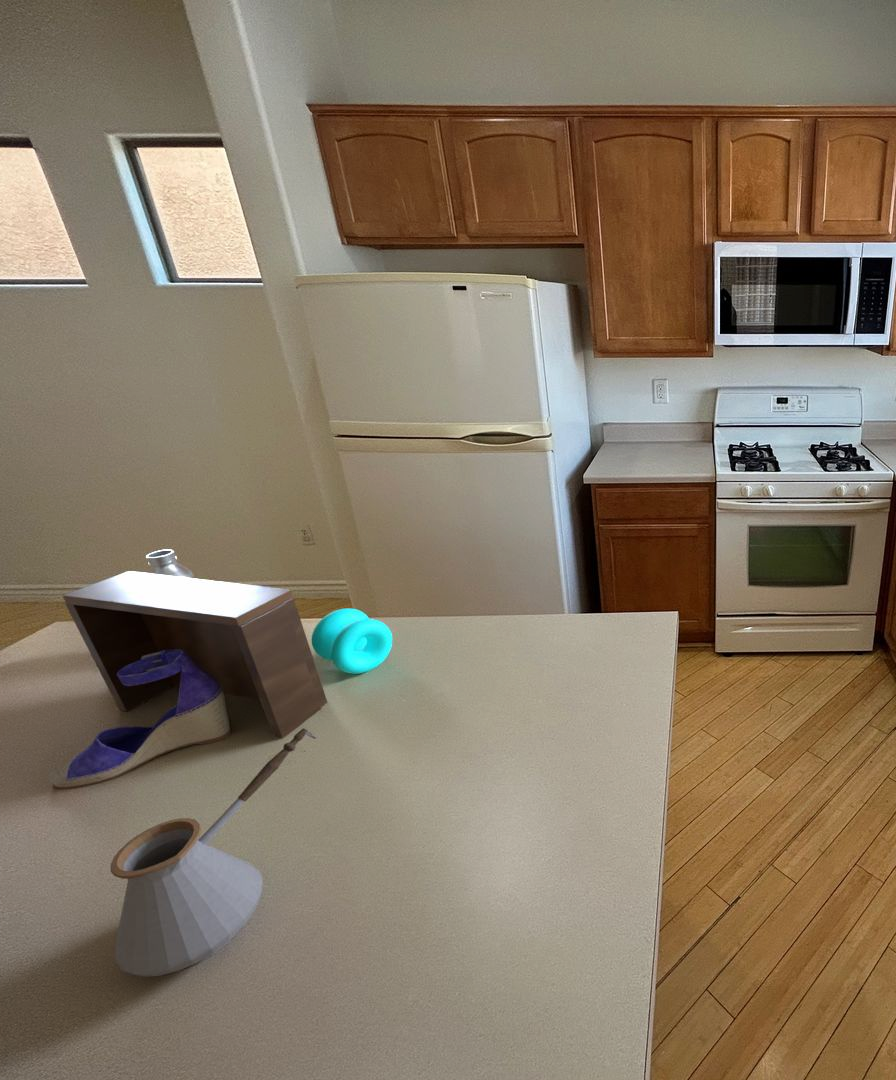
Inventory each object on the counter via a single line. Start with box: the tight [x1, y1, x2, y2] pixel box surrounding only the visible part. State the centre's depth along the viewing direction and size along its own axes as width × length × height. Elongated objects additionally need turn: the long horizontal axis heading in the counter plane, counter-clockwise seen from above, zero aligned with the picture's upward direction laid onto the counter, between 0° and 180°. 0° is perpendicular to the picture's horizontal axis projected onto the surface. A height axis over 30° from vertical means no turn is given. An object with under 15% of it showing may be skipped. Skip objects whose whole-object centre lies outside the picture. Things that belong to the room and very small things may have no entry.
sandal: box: [48, 649, 232, 789], centre depth 78 cm, size 8×20×15 cm, turn 113°
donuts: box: [311, 607, 393, 675], centre depth 101 cm, size 10×10×10 cm
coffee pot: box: [110, 727, 319, 977], centre depth 60 cm, size 21×12×15 cm, turn 159°
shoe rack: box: [62, 570, 328, 739], centre depth 87 cm, size 32×9×21 cm, turn 79°
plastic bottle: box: [145, 549, 196, 579], centre depth 103 cm, size 6×7×20 cm
